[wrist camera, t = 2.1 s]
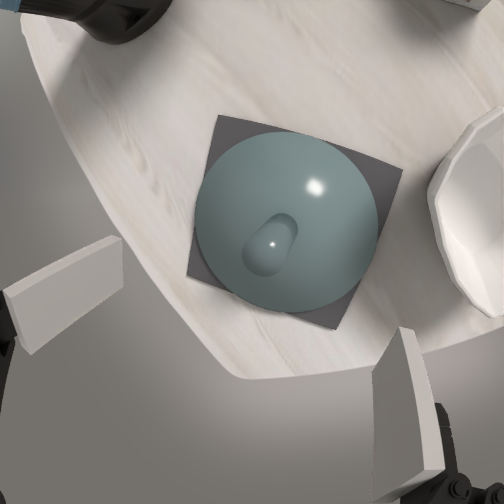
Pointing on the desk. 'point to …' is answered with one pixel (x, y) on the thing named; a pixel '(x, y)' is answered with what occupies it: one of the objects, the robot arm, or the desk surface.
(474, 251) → the bowl
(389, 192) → the mat
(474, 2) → the light bulb box
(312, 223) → the lid
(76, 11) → the robot arm
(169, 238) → the desk surface
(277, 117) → the desk surface
